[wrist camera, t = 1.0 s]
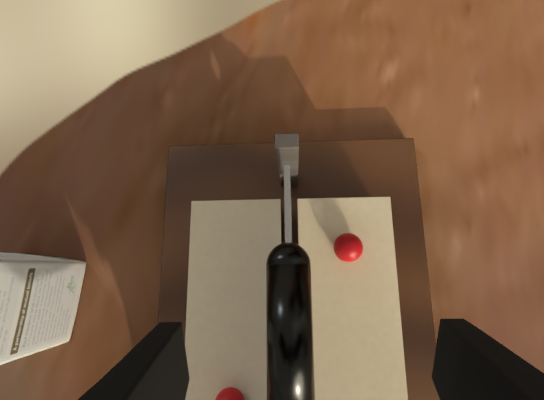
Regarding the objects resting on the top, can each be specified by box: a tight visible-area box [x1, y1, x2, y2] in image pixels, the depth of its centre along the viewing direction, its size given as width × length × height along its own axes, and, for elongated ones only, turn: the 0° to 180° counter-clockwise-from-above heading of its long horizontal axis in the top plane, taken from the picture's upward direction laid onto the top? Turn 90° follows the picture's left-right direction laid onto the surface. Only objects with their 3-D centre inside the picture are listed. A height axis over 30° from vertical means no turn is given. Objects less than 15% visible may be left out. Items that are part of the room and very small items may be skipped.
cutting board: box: [158, 133, 440, 400], centre depth 18 cm, size 24×18×8 cm
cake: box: [185, 197, 408, 400], centre depth 19 cm, size 14×12×5 cm
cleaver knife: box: [266, 165, 315, 400], centre depth 15 cm, size 15×2×6 cm, turn 0°
